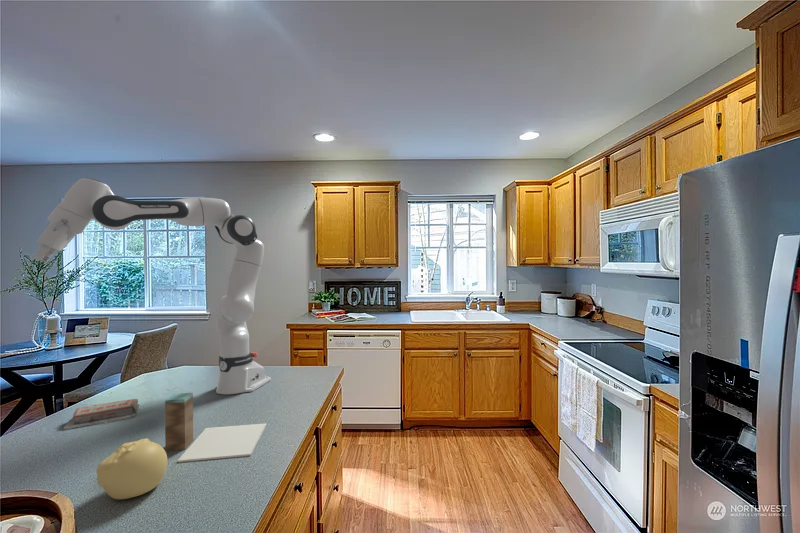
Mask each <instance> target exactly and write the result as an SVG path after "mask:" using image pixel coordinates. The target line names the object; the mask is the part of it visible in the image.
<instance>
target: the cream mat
mask: <svg viewBox="0 0 800 533" xmlns="http://www.w3.org/2000/svg"><path fill="white" fill-rule="evenodd" d="M266 427H267V423H265V422H264V423H252V424H240V425H228V426H215V427H206V428H204V429H203V431H202V432H201V434H199V436H197V437H196V439H195V440H193V441H192V442H191V444H190V445H189V446H188V447H187V448H186V449H185V451H184V453H182V455H181V456H180V457H179V458H178V459H177V463H186V462H194V461H195V462H196V461H197V462H198V461H206V460H217V459H219V460H220V459H230V458H231V459H232V458H240V457H241V458H242V457H250V456H252V454H253V452H254V450H255V449H256V447H257V445H258V443H259V440H260V438H261V437H262V434H263V433H264V431H265V428H266Z"/></svg>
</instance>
